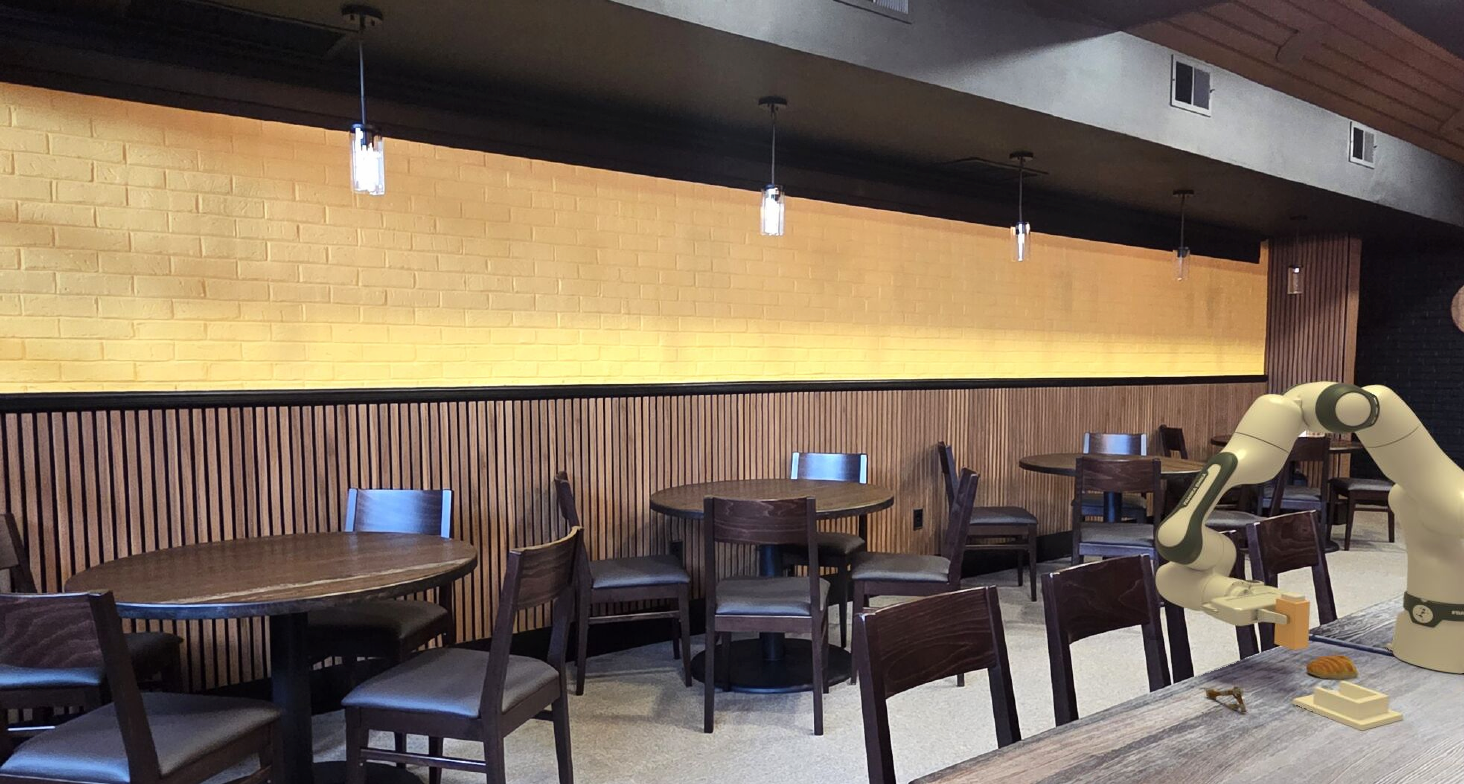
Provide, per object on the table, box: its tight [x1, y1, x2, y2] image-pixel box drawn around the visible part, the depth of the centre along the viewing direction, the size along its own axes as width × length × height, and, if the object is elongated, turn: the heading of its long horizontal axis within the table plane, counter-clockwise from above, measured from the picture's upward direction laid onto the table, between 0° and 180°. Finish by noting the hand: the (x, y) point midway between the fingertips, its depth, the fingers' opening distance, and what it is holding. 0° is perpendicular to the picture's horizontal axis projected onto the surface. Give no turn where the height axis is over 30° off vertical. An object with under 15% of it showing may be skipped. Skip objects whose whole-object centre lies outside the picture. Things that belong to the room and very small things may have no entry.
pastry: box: [1305, 654, 1359, 680], centre depth 177 cm, size 9×7×4 cm
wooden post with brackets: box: [1204, 685, 1247, 714], centre depth 159 cm, size 2×8×4 cm, turn 16°
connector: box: [1274, 591, 1311, 651], centre depth 167 cm, size 4×4×10 cm
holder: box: [1292, 680, 1404, 732], centre depth 158 cm, size 12×12×4 cm
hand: (1296, 618), depth 166 cm, fingers closed on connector, 4 cm apart
